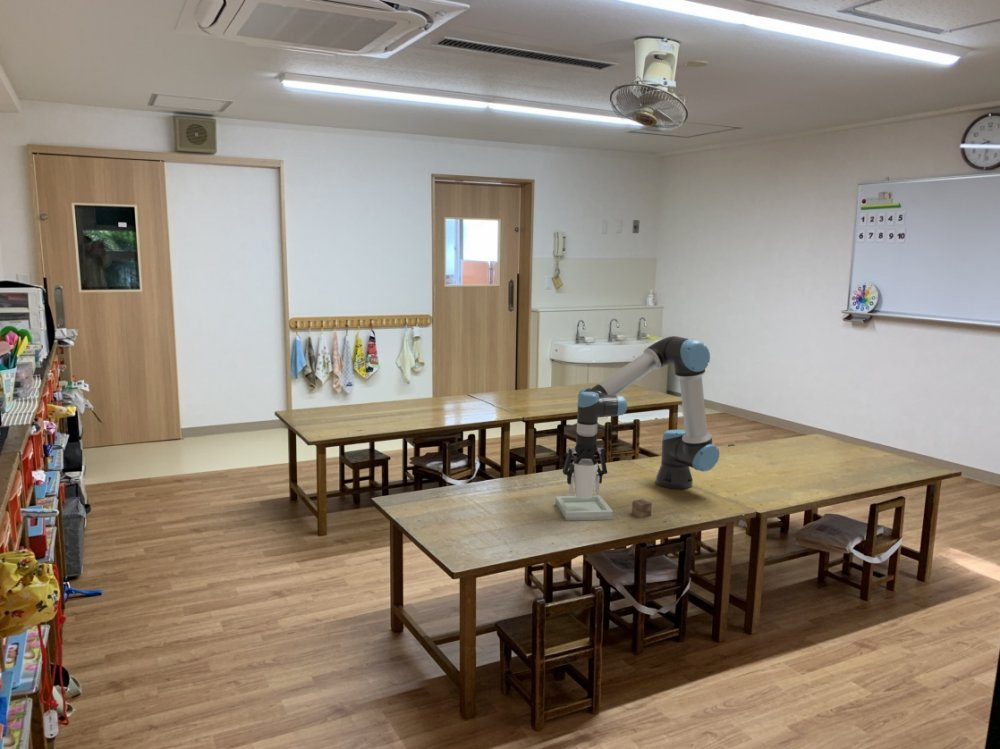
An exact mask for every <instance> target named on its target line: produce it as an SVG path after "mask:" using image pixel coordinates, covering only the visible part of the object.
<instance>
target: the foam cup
mask: <svg viewBox="0 0 1000 749" xmlns="http://www.w3.org/2000/svg"><path fill="white" fill-rule="evenodd" d="M572 463H573V465H574V472H573V474H572V475H573V477H574V479H573V487H574V496H576V497H578V498H582V499H589V498H592V496H593V495H594V491H595V480H596V474H598V472H597V470H598V465H599V462H598V461H597V463H596V465H594V464H593V462H592V460H591V458H590V459H587V458H586V459H581V461H580V462H579V463H578V464H575V463H574V462H573V461H572Z"/></svg>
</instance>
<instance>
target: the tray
mask: <svg viewBox="0 0 1000 749" xmlns="http://www.w3.org/2000/svg"><path fill="white" fill-rule="evenodd" d="M554 504H555V505H556V507H557V509H558V511H559V513H560V514H561V515H562V517H563V519H564V521H566V522H569V521H570V522H571V521H596V520H597V521H598V520H599V521H600V520H601V521H602V520H603V521H604V520H613V519H614V510H613V509H611V507H610V506H609V504H608V503H607V502H606V501H605V499H604V498H603V497H602V496H601V495H599V494H598V495H597V494H595V495H594V494H593V495H592V498H589V499H582V498H578V497H576V496H575V495H570V496H568V495H565V496H564V495H563V496H560V495H559V496H555V503H554Z"/></svg>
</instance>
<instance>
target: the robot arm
mask: <svg viewBox="0 0 1000 749" xmlns="http://www.w3.org/2000/svg"><path fill="white" fill-rule="evenodd" d="M710 361H711V353H710V349H709V348H708V346H707V345H706V344H705V343H704V342H702V341H700V340H697V339H693V338H686V337H681V336H676V335H675V336H674V335H673V336H671V335H670V336H668V337H665V338H661V339H660V340H657V342H654V343H652V344H651V345H650V346H648V347H646V348H644V350H643V353H642V354H641V355H639V356H637V357H636V358H634V359H633V360H632V361H630V362H629V363H627V364H625V365H624V366H623V367H621V368H619V369H618V370H617V371H615V372H614V373H612V374H611V375H609V376H608V377H607V378H604V380H602V381H600V382H599V383H598V384H596V385H594V386H593V387H592V388H591V387H584V388H582V389H581V390H580V391H579V392H578V394H577V403H576V405H577V414H576V416H577V419H576V421H577V422H576V438H575V439H576V440H575V441H576V442H575V447H574V448H573V447H572V448H571V447H567V449H566V450H567V454H566V458H565V461H564V465H563V468H562V474H563V475H564V476H565V475H566V477H567V478H566V483H567V485H569V487H568V488H569V489H568V491H569V493H570V494H573V493H574V475H573V472H574V465H573V462H574V463H575V464H578V463H579V462H580V461H581V459H590V460H592V462H593V464H594V465H596V463H597V462H598V461H597V458H596V457H595V454H596V453H598V454H599V459H600V465H599V464H598V470H597V474H596V480H595V485H594V491H595V493H596V494H597V493H598V494H599V493H600V484H602V482H603V477H604V475H606V474H608V469H607V463H606V459H605V450H606V449H605V448H603V447H602V446H600V447H597V440H598V439H597V438H598V436H597V434H598V421H599V418H606V417H618V416H623V415H625V413H626V412H627V410H628V403H627V400H626V398H625V397H624V396H622V395H618V394H619V393H621V392H623V391H624V390H626V389H627V388H628V387H630V386H631V385H633V384H634V383H637V381H638V380H640V379H642V378H644V376H646V375H647V374H650V373H651V372H652V371H653V370H660V369H661V368H662V367H665V366H673V368H674V369H673V370H674V376H675V377H677V378H678V379H679V388H680V396H681V404H682V413H683V425H684V429H668V430H666V431H664V432H663V434H662V443H661V444H662V445H661V446H662V447H661V459H660V460H661V463H660V466H659V469H658V472H657V473H656V477H655V484H657V485H659V486H660V487H664V488H667V489H674V490H685V489H690V488H691V487H693V484H694V483H693V479H694V478H693V477H692V476H693V475H692V473H691V468H692V469H694V470H696V471H700V472H708V471H710V470H712V469H714V467H715V466H716V464H717V463H718V461H719V458H720V450H719V448H718V446H716V445H715V444H713V435H712V434H711V433H709V432H708V427H707V426H708V425H707V416H706V415H707V414H706V407H705V406H706V405H705V395H704V386H703V375H704V374H705V373H706V368H707V367H708V366H709V364H710ZM575 452H576V455H575V457H574V460H573V461H572V457H573V455H574V454H575ZM571 461H572V463H571ZM600 467H601V468H600Z"/></svg>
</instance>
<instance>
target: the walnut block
mask: <svg viewBox="0 0 1000 749" xmlns="http://www.w3.org/2000/svg"><path fill="white" fill-rule="evenodd" d="M631 502H632V503H631V514H632V515H633V516H636V517H638V518H640V519H642V518H646V517H647V518H648V517H650V516H652V504H653V503H652V502H650V501H648V500H647V499H646V500H645V499H644V498H641V499H636V500H632V501H631Z"/></svg>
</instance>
